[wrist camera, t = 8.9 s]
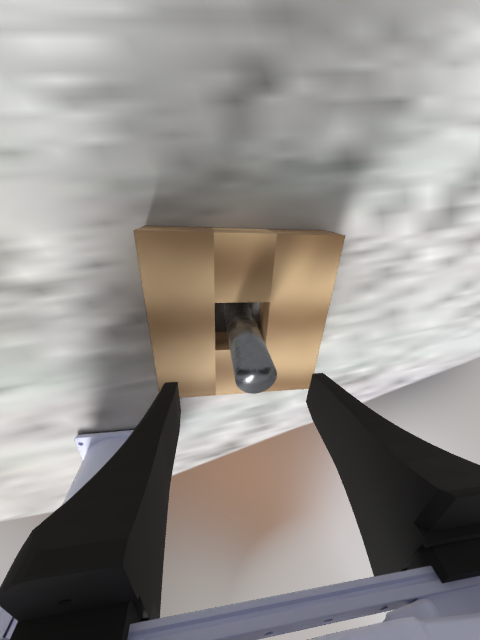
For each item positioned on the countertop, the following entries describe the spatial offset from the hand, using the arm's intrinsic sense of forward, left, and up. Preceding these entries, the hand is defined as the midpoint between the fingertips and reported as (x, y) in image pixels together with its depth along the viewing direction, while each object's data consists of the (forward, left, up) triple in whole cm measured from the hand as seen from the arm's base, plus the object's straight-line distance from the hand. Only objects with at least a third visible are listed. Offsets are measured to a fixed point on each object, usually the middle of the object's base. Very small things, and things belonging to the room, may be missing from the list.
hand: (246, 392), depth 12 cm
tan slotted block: (0, -1, -10) cm, 10 cm away
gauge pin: (0, -1, -10) cm, 10 cm away
